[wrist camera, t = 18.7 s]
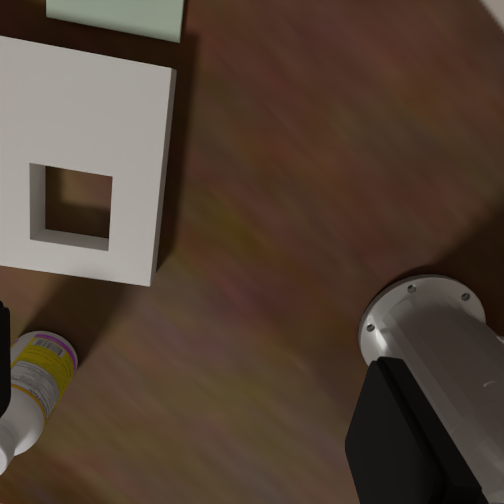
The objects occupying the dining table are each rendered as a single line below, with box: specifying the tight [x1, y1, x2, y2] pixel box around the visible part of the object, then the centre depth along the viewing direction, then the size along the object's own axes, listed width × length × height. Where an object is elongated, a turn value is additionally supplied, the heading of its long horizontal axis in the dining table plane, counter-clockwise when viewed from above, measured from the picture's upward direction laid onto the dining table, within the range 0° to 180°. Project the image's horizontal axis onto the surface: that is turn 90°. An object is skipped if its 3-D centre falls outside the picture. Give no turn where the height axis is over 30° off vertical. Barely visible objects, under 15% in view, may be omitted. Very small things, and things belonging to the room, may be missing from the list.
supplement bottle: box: [0, 331, 78, 475], centre depth 37 cm, size 7×7×13 cm
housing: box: [0, 36, 177, 286], centre depth 35 cm, size 20×18×3 cm
